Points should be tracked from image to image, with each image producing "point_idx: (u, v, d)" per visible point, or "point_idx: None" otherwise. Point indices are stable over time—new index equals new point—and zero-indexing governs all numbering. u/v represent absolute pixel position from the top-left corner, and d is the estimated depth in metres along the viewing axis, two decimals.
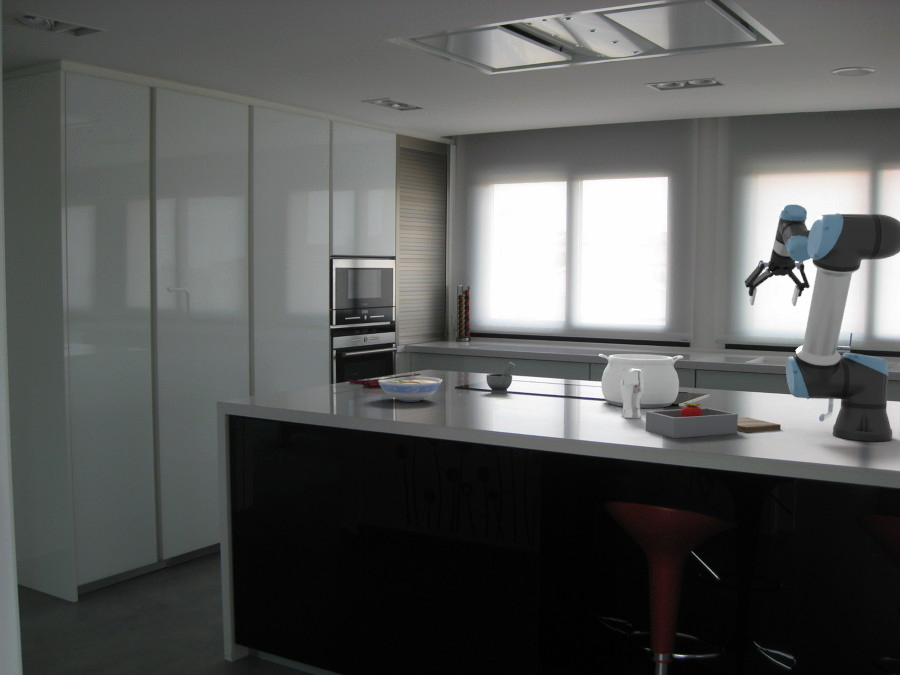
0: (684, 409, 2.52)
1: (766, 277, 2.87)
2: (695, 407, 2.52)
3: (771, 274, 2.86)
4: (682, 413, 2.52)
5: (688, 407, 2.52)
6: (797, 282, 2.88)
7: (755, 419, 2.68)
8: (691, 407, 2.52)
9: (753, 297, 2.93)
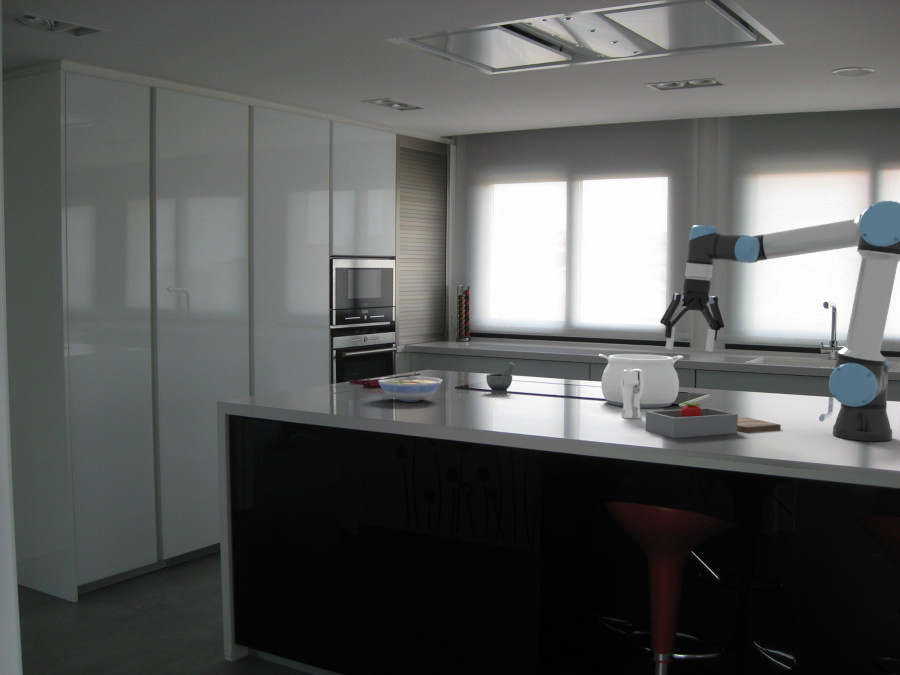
0: (684, 409, 2.52)
1: (683, 311, 2.58)
2: (695, 407, 2.52)
3: (688, 306, 2.58)
4: (682, 413, 2.52)
5: (688, 407, 2.52)
6: (712, 319, 2.61)
7: (755, 419, 2.68)
8: (691, 407, 2.52)
9: (672, 338, 2.58)
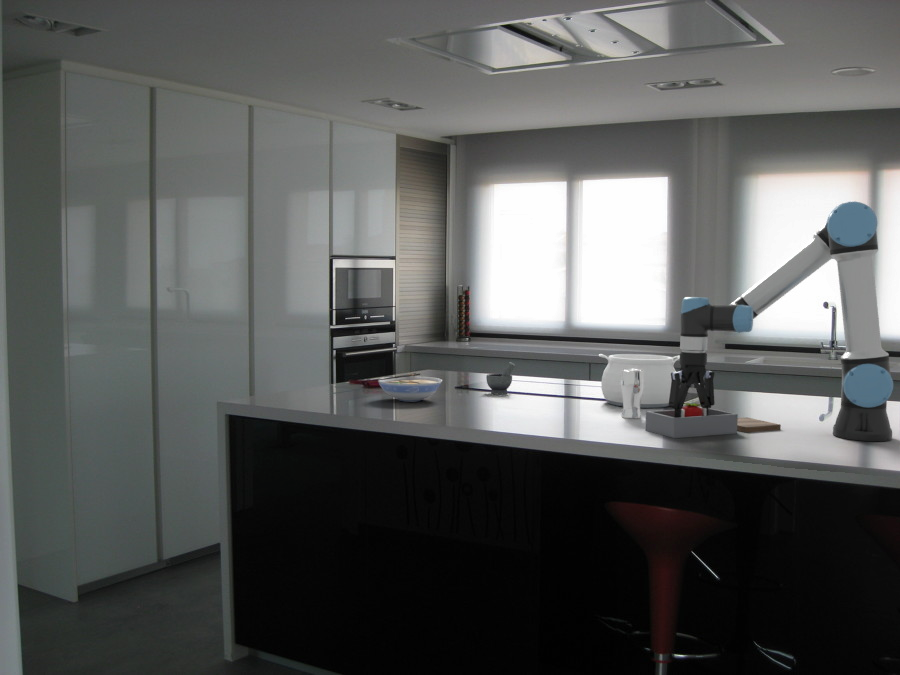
0: (684, 409, 2.52)
1: (686, 389, 2.51)
2: (695, 407, 2.52)
3: (689, 382, 2.50)
4: None
5: (688, 407, 2.52)
6: (705, 396, 2.54)
7: (755, 419, 2.68)
8: (691, 407, 2.52)
9: None
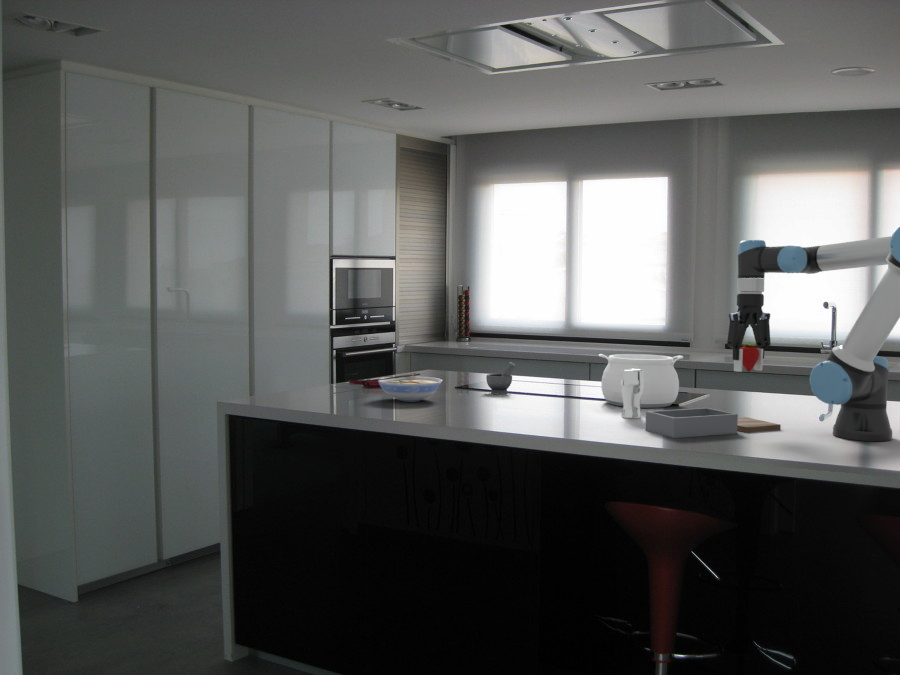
0: (742, 349, 2.59)
1: (744, 329, 2.58)
2: (752, 347, 2.60)
3: (747, 323, 2.58)
4: None
5: (746, 347, 2.60)
6: (762, 337, 2.61)
7: (755, 419, 2.68)
8: (749, 347, 2.59)
9: (741, 360, 2.58)
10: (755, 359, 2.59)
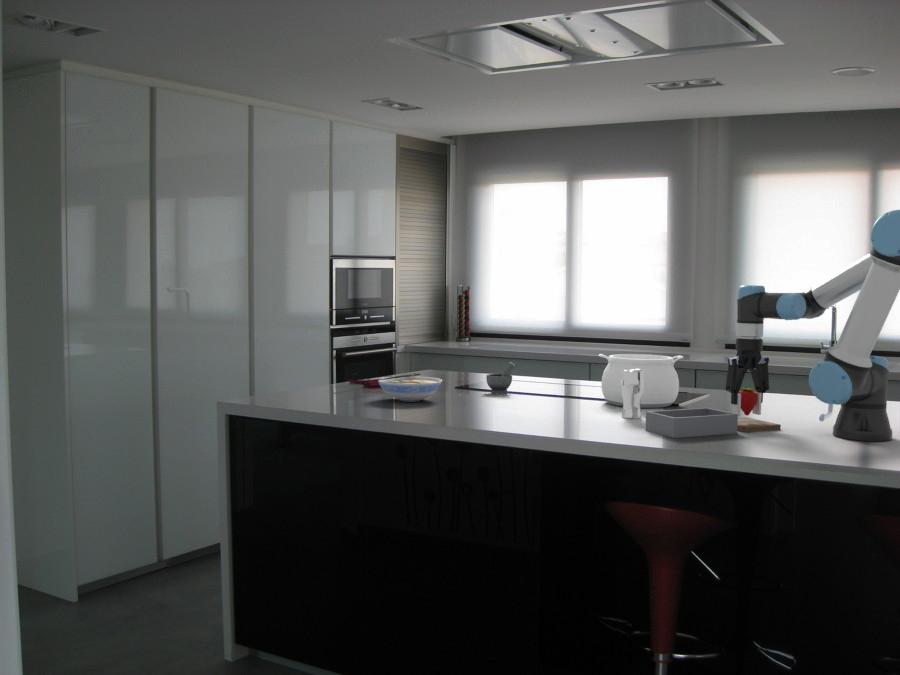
0: (740, 393, 2.61)
1: (743, 374, 2.60)
2: (751, 391, 2.61)
3: (746, 367, 2.59)
4: None
5: (744, 391, 2.61)
6: (760, 381, 2.63)
7: (755, 419, 2.68)
8: (747, 391, 2.61)
9: (739, 405, 2.60)
10: (753, 404, 2.60)
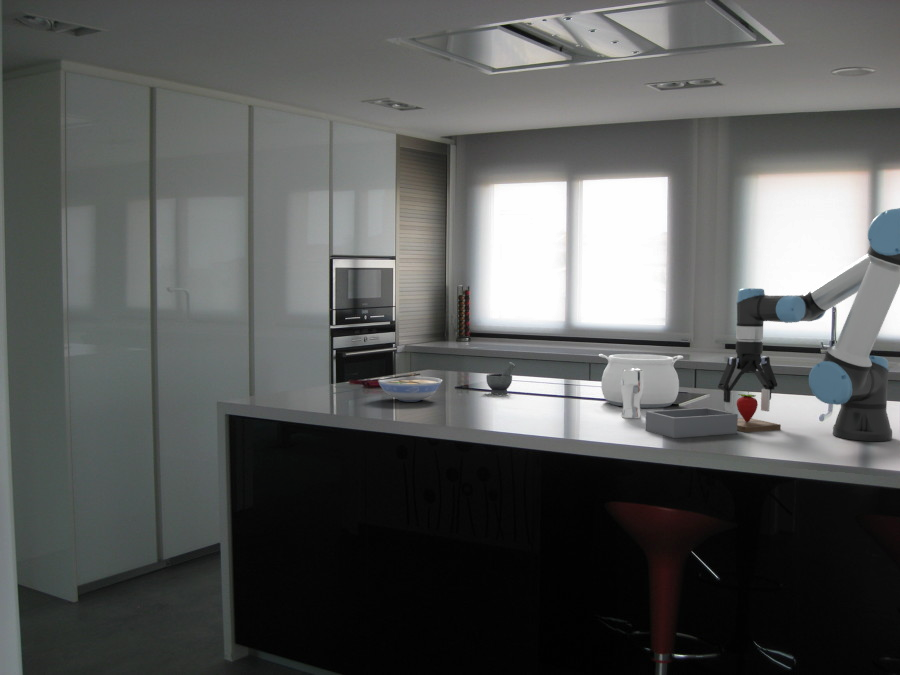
0: (740, 400, 2.61)
1: (740, 374, 2.59)
2: (751, 398, 2.61)
3: (744, 369, 2.59)
4: (738, 404, 2.61)
5: (744, 398, 2.61)
6: (766, 379, 2.63)
7: (755, 419, 2.68)
8: (747, 398, 2.61)
9: (732, 402, 2.58)
10: (753, 410, 2.60)
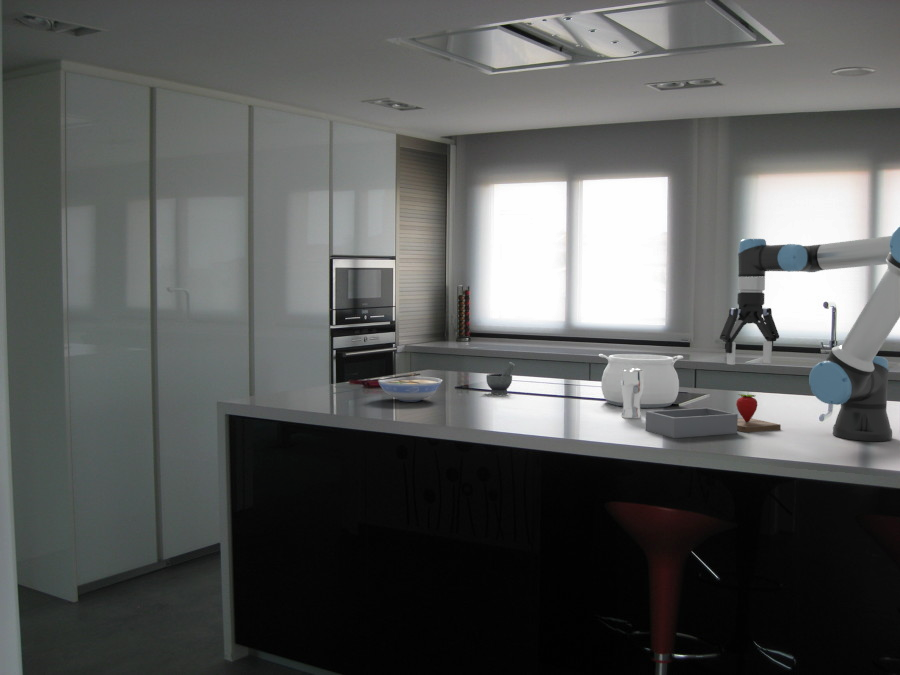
0: (740, 400, 2.61)
1: (741, 325, 2.58)
2: (750, 398, 2.61)
3: (746, 320, 2.58)
4: (738, 404, 2.61)
5: (744, 398, 2.61)
6: (768, 331, 2.62)
7: (755, 419, 2.68)
8: (747, 398, 2.61)
9: (733, 353, 2.57)
10: (753, 410, 2.60)
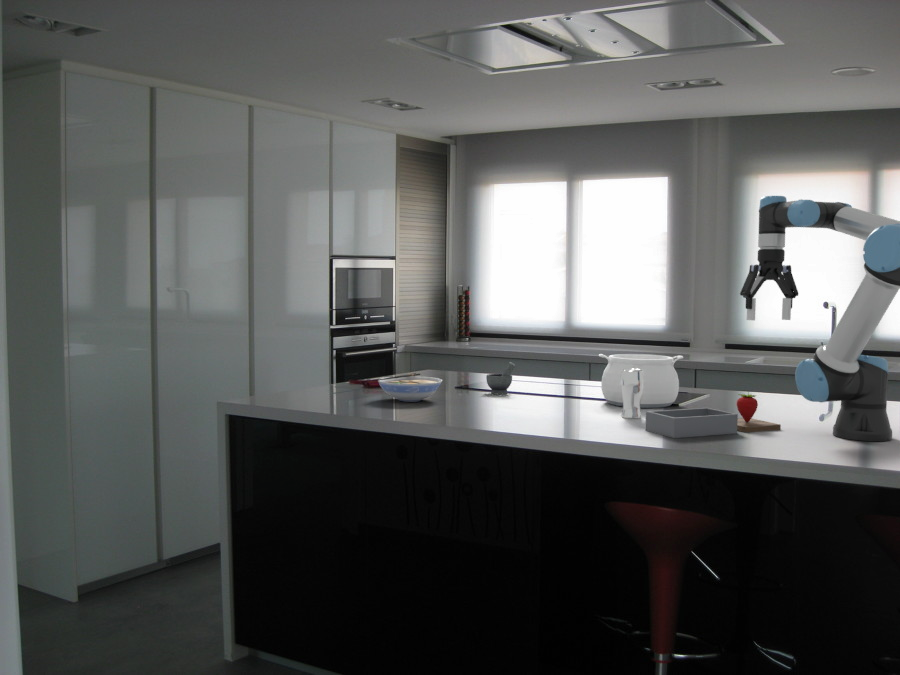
0: (740, 400, 2.61)
1: (761, 281, 2.61)
2: (751, 398, 2.61)
3: (766, 276, 2.61)
4: (738, 404, 2.61)
5: (744, 398, 2.61)
6: (788, 288, 2.65)
7: (755, 419, 2.68)
8: (747, 398, 2.61)
9: (754, 309, 2.61)
10: (753, 410, 2.60)
